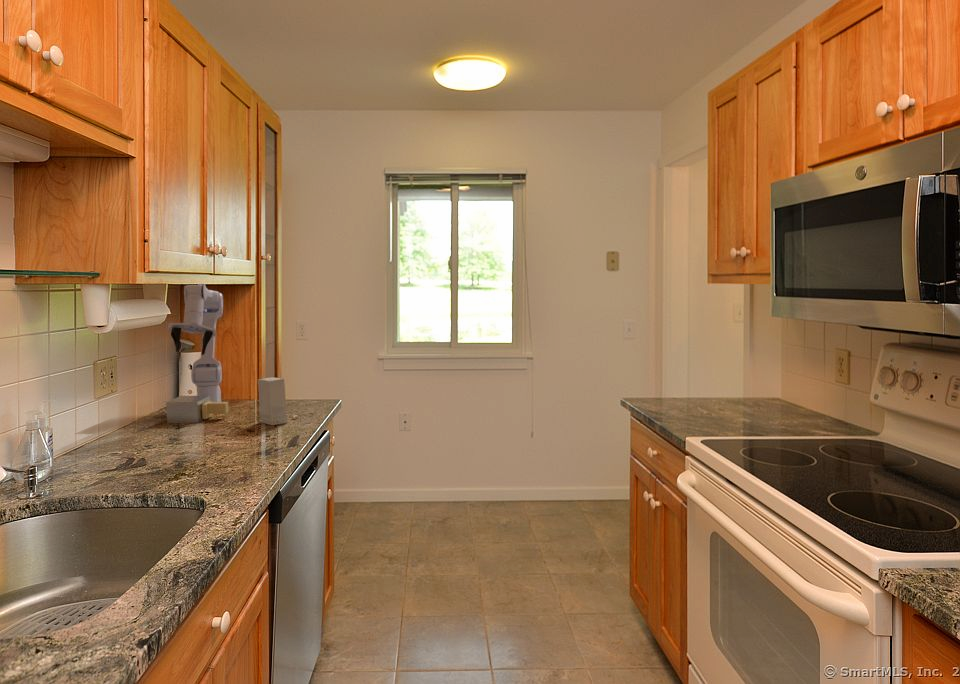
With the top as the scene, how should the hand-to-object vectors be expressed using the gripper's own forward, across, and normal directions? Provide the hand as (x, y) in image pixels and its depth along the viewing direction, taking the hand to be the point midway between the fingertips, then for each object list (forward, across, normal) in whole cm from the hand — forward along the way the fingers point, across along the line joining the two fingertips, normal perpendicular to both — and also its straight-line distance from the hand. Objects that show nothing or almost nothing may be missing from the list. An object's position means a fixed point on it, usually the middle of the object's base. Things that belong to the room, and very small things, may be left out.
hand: (190, 352), depth 213 cm
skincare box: (+22, +27, +1) cm, 35 cm away
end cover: (+15, +9, +18) cm, 25 cm away
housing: (+15, +4, +21) cm, 26 cm away
